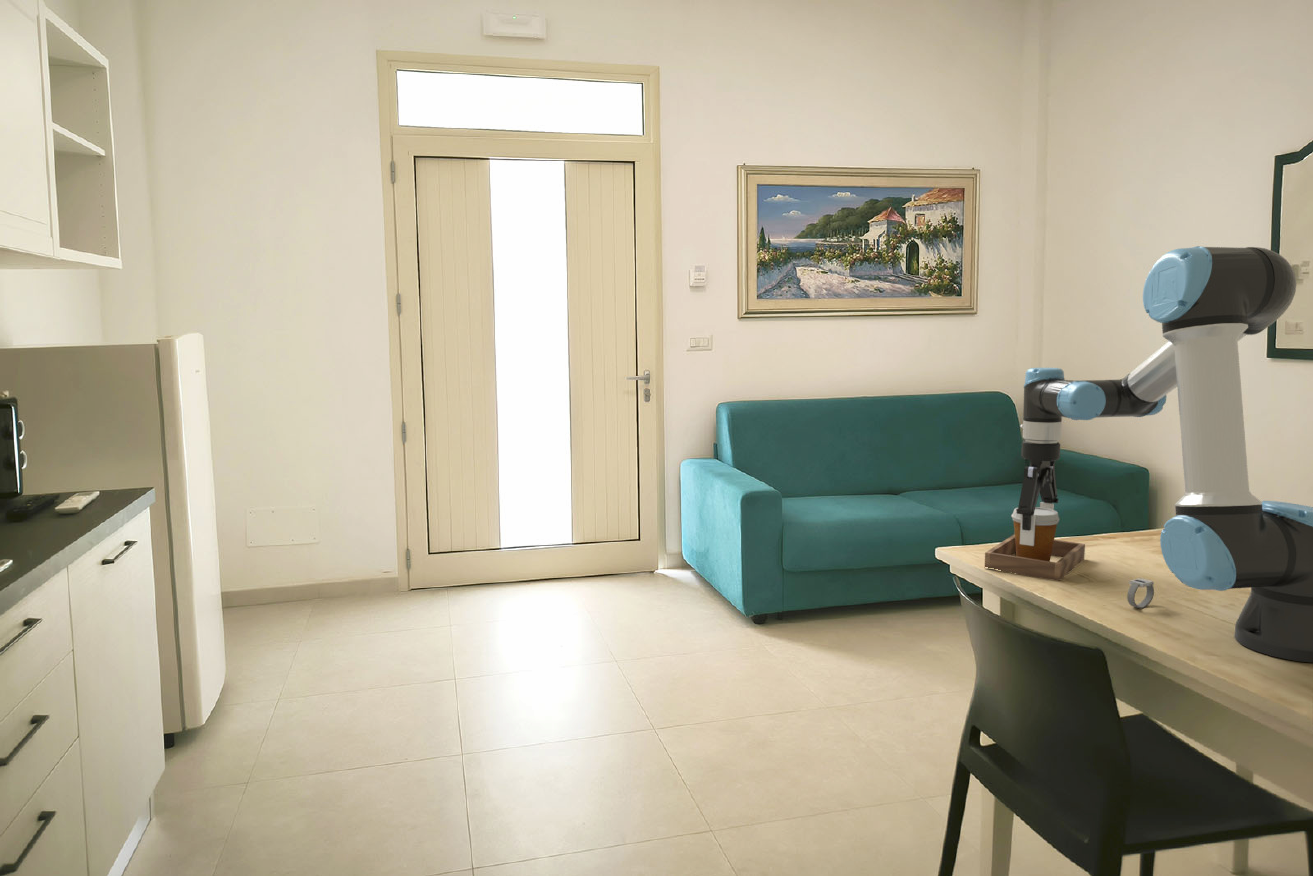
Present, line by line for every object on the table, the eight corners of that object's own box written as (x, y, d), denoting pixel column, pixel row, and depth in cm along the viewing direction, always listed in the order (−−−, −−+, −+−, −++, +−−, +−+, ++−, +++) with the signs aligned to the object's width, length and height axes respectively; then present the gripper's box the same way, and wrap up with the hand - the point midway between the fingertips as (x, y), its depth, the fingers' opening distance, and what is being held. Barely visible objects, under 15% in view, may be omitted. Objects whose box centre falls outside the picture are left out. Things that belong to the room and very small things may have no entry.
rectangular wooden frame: (1059, 581, 179) (1060, 564, 178) (984, 568, 188) (985, 552, 188) (1084, 559, 194) (1085, 543, 194) (1013, 548, 204) (1014, 534, 203)
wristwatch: (1142, 602, 165) (1144, 576, 165) (1157, 606, 163) (1158, 580, 162) (1122, 607, 162) (1123, 581, 162) (1136, 612, 160) (1138, 585, 159)
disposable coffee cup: (1051, 574, 183) (1054, 518, 182) (1003, 567, 189) (1006, 512, 187) (1062, 564, 191) (1064, 509, 189) (1016, 557, 196) (1018, 504, 195)
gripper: (1039, 433, 199) (1035, 524, 202) (1004, 446, 180) (999, 547, 183) (1075, 435, 195) (1070, 529, 198) (1042, 449, 176) (1037, 553, 178)
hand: (1036, 538), depth 190 cm, fingers open, 13 cm apart
